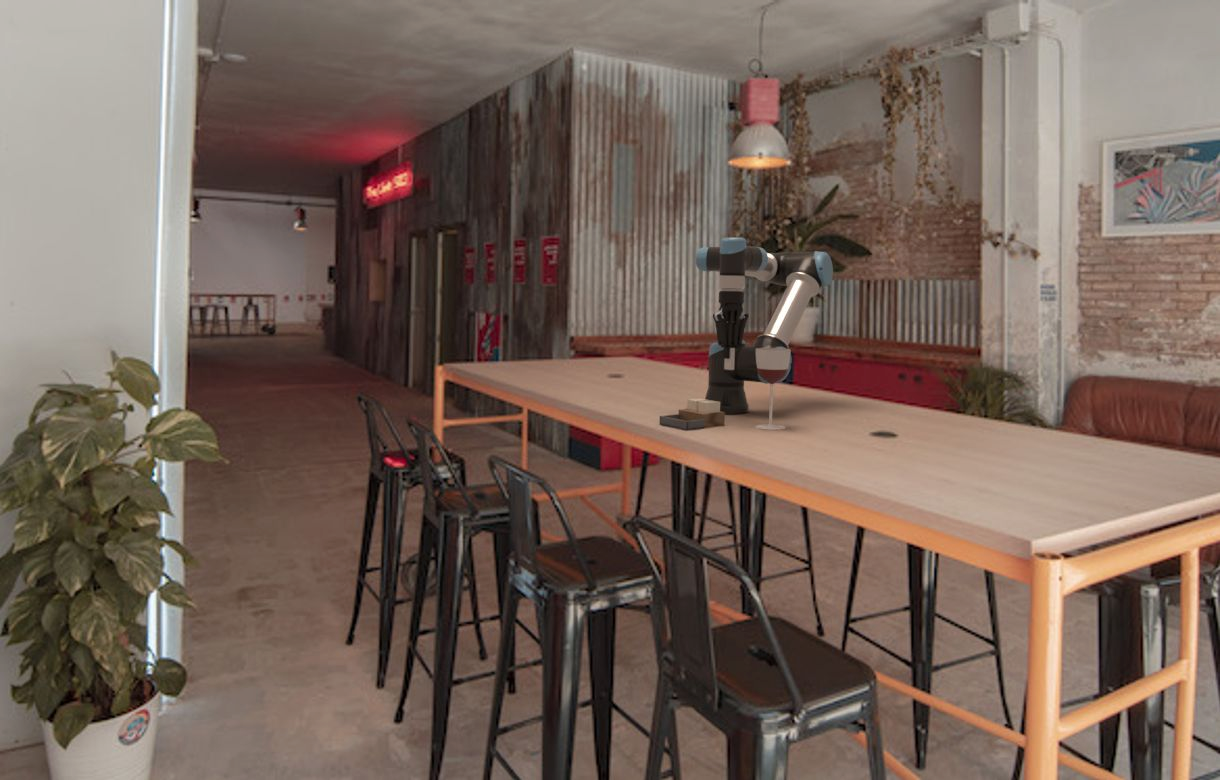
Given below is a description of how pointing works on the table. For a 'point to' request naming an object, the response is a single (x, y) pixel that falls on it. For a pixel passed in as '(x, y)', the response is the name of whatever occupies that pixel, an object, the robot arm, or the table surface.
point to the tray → (681, 422)
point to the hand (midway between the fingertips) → (729, 369)
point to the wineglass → (772, 373)
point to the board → (703, 417)
